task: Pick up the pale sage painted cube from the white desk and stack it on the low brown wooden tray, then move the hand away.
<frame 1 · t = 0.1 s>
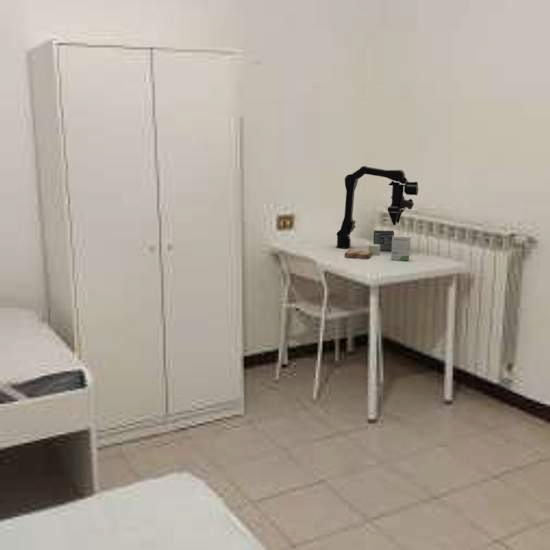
hand: (396, 223, 374), 15 cm above the table, tool pointing down, fingers open, 9 cm apart
ink box: (400, 260, 353), on the table
small box: (383, 250, 379), on the table
brown wooden tray: (358, 256, 359), on the table
sage cube: (374, 254, 367), on the table
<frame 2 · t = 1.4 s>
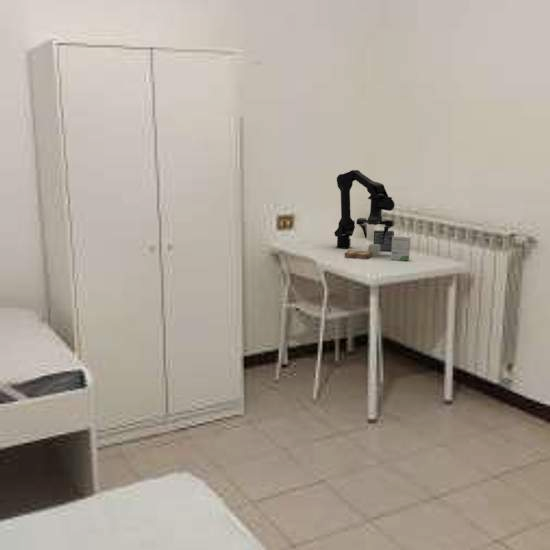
hand: (374, 238, 365), 8 cm above the table, tool pointing down, fingers open, 9 cm apart
nothing on the table moved.
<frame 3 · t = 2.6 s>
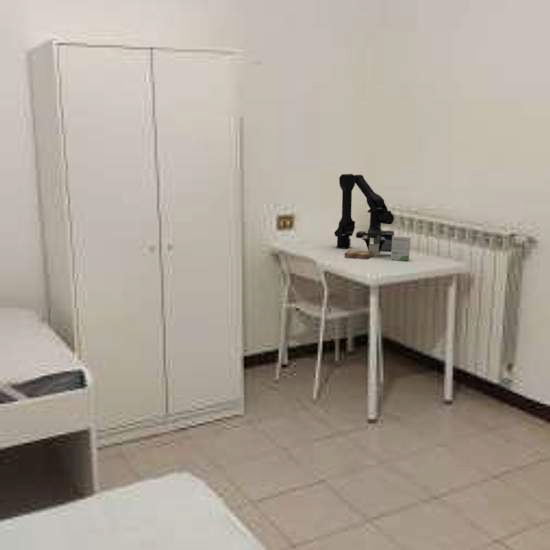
hand: (374, 252, 366), 1 cm above the table, tool pointing down, fingers closed on sage cube, 5 cm apart
sage cube: (374, 254, 367), on the table, touching gripper
everything else where it was.
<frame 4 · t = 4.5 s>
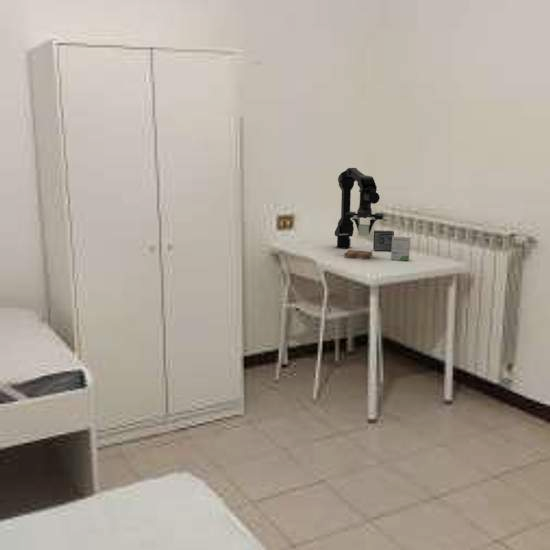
hand: (364, 232, 359), 12 cm above the table, tool pointing down, fingers closed on sage cube, 5 cm apart
sage cube: (364, 234, 359), point 11 cm above the table, touching gripper
everything else where it was.
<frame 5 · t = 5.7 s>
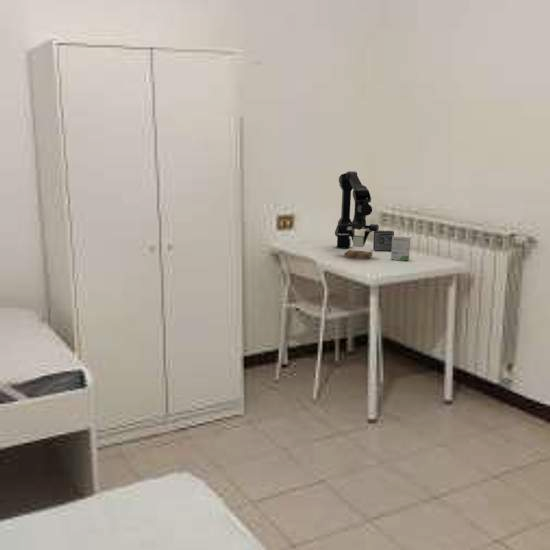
hand: (358, 243, 358), 7 cm above the table, tool pointing down, fingers closed on sage cube, 5 cm apart
sage cube: (358, 246, 358), point 5 cm above the table, touching gripper
everything else where it was.
when the fingers open (4 cm above the table, at t = 6.5 s): sage cube stays where it is, resting on brown wooden tray.
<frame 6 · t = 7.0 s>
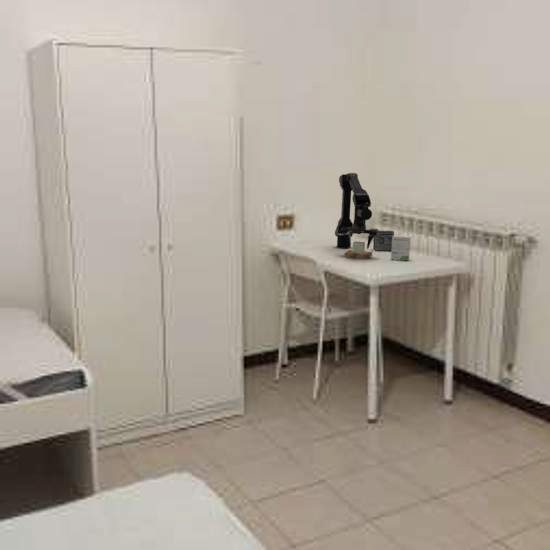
hand: (358, 248, 358), 4 cm above the table, tool pointing down, fingers open, 9 cm apart
sage cube: (358, 252, 359), point 2 cm above the table, touching brown wooden tray
everything else where it was.
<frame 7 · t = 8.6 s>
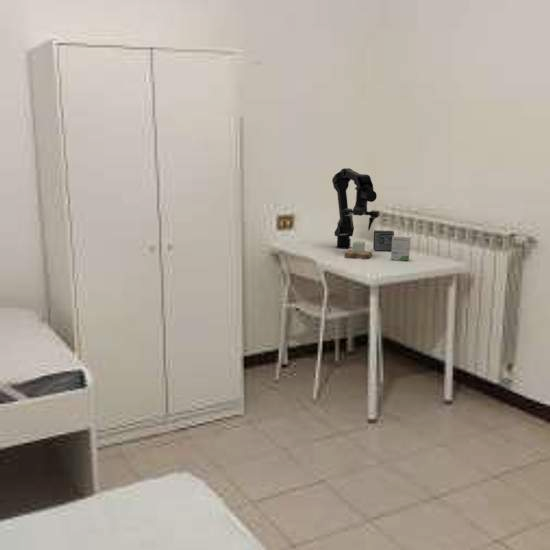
hand: (360, 229, 366), 13 cm above the table, tool pointing down, fingers open, 9 cm apart
nothing on the table moved.
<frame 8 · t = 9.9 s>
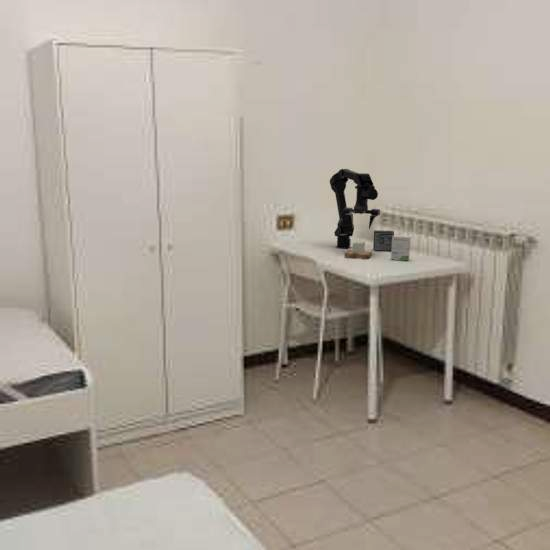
hand: (360, 228, 368), 13 cm above the table, tool pointing down, fingers open, 9 cm apart
nothing on the table moved.
at the end: sage cube inside the target area on the brown wooden tray (0.0 cm from its centre), point 2.4 cm above the brown wooden tray's base; sage cube tilted 0°; sage cube touching brown wooden tray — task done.
